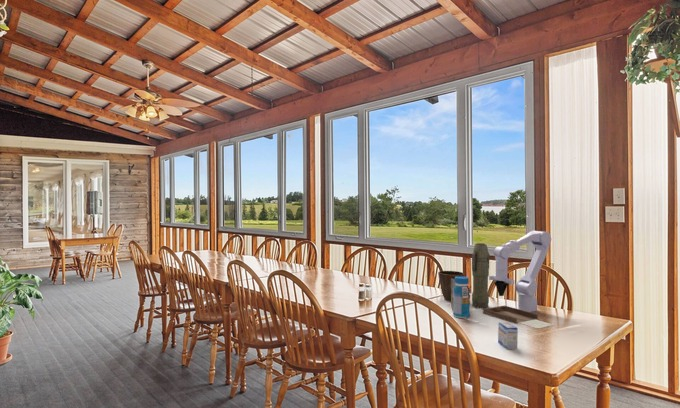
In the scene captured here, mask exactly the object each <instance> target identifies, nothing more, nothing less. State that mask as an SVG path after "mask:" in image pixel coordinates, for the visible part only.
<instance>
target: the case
mask: <svg viewBox="0 0 680 408" xmlns="http://www.w3.org/2000/svg"><path fill="white" fill-rule="evenodd" d="M482 314H484V315H488V316H490V317H494V318H497V319H499V320H503V321H505V322H508V323H513V324H521V323H520V322H525V321H530V320H535V319H536V320H538V319H539V318H538V317H539V315H538V314H537V313H533V312H527V311H523V310H519V309H518V308H514V307H511V306H507V305H499V306H494V307H493V306H492V307H488V308H484V309H483V308H482Z"/></svg>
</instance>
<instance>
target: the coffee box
mask: <svg viewBox="0 0 680 408" xmlns="http://www.w3.org/2000/svg"><path fill="white" fill-rule="evenodd" d="M455 285H456V284H455V279H451V301H450V303H451V304H450V307H451V311H452V312H453V293H454V291H453V289H454V287H455Z"/></svg>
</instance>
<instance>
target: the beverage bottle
mask: <svg viewBox="0 0 680 408" xmlns="http://www.w3.org/2000/svg"><path fill="white" fill-rule="evenodd" d="M455 284H456V285H455V287H454V289H453V291H454V293H453V311H452V315H453V316H454V317H455V318H459V319H467V318H468V317H470V315H471V314H470V313H471V312H470V311H471V309H470V308H471V307H470V304H471V294H470V292H471V289H470V287H469V277H468V276H465V275H464V276H456V277H455Z"/></svg>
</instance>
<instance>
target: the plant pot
mask: <svg viewBox="0 0 680 408" xmlns="http://www.w3.org/2000/svg"><path fill="white" fill-rule="evenodd" d="M456 276H465V273H464V272H461V271H455V270H440V271H438V281H439V285H440V289H441V290H440V291H441V293H442V296H443V299H444V300H445V301H450V302H451V279H455V277H456Z"/></svg>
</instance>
